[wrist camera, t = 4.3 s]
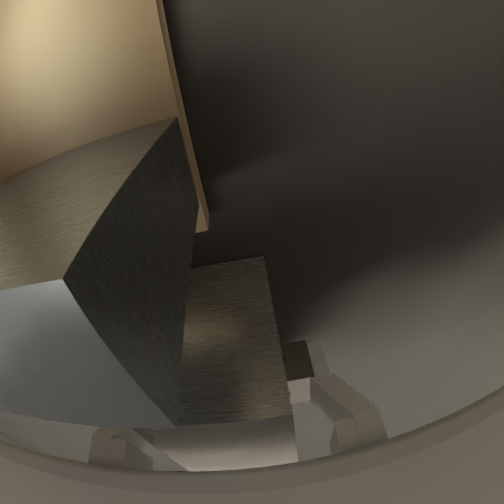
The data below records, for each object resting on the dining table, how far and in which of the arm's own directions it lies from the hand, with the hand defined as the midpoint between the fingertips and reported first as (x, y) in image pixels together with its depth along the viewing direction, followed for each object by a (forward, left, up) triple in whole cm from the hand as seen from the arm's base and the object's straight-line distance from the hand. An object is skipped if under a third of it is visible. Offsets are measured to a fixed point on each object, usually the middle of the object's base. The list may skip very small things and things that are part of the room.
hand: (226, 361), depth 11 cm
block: (0, 0, -2) cm, 2 cm away
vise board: (+5, -14, -2) cm, 15 cm away
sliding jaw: (+5, -5, -1) cm, 7 cm away
